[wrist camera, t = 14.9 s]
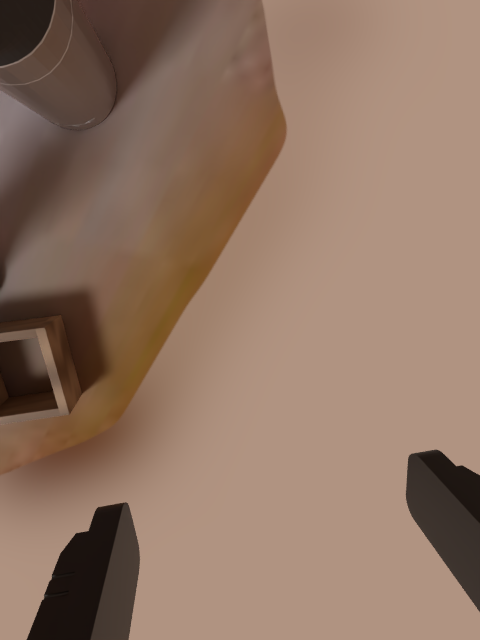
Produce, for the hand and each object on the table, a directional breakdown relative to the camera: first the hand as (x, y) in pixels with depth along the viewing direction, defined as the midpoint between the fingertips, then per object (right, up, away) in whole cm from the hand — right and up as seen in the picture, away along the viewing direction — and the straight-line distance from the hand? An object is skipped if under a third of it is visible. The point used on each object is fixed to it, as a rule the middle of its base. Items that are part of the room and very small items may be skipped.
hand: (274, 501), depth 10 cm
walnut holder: (-27, 0, +34) cm, 44 cm away
